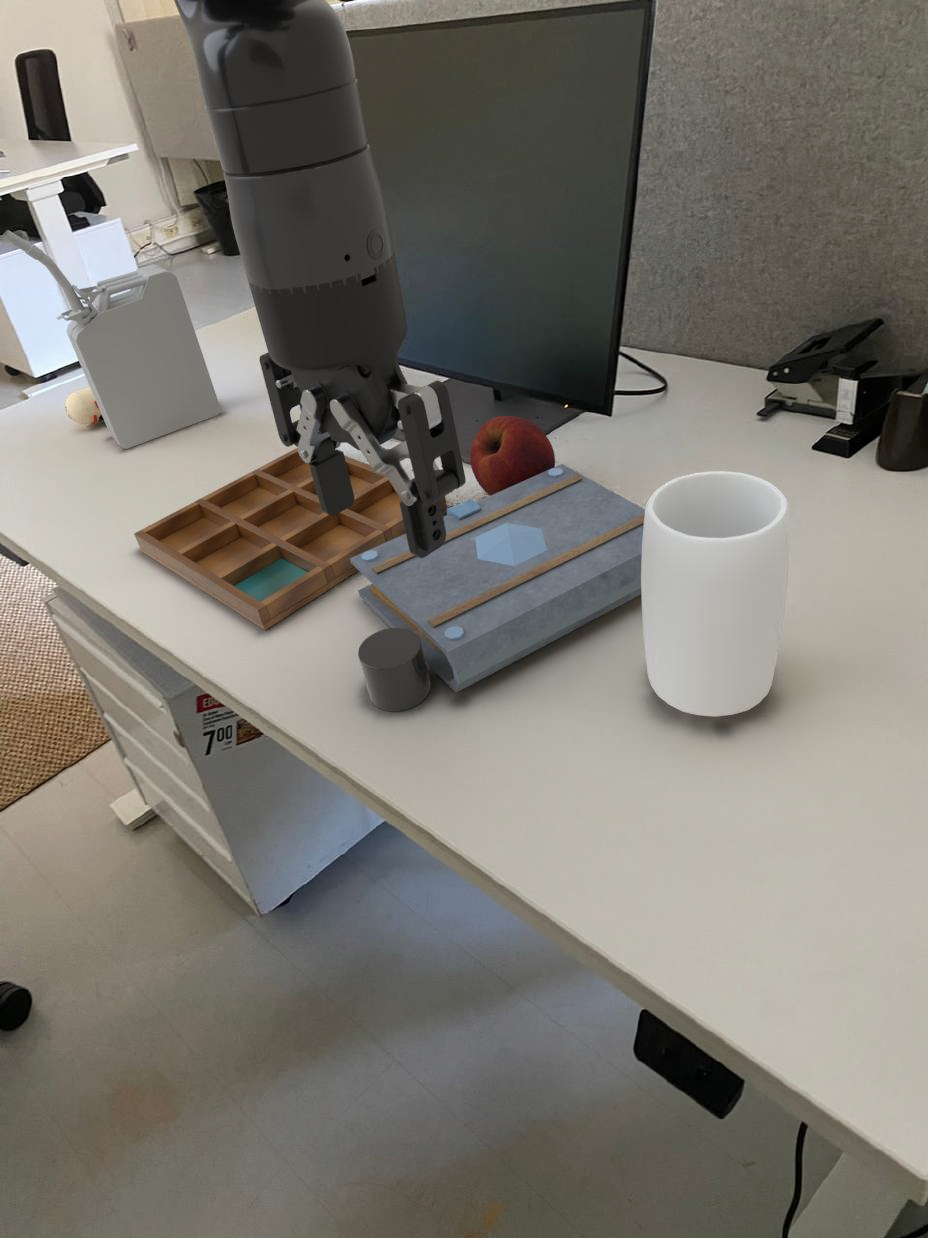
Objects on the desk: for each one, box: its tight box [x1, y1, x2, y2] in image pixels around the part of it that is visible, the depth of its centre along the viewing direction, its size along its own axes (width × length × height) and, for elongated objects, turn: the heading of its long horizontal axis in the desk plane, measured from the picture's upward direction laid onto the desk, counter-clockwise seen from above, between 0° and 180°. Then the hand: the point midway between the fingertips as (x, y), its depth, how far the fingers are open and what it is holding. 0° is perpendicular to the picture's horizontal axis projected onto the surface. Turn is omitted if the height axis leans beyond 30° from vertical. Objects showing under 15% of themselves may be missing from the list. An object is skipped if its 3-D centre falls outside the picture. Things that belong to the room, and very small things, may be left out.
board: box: [133, 447, 448, 631], centre depth 81 cm, size 21×21×2 cm
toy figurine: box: [64, 386, 104, 425], centre depth 110 cm, size 8×4×12 cm
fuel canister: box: [1, 229, 222, 450], centre depth 98 cm, size 15×5×25 cm, turn 123°
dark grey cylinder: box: [357, 627, 431, 712], centre depth 61 cm, size 4×4×4 cm
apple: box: [469, 415, 556, 496], centre depth 79 cm, size 7×8×8 cm
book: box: [350, 463, 646, 694], centre depth 68 cm, size 21×16×5 cm
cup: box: [640, 470, 790, 718], centre depth 54 cm, size 8×8×14 cm
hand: (382, 528), depth 54 cm, fingers open, 8 cm apart
